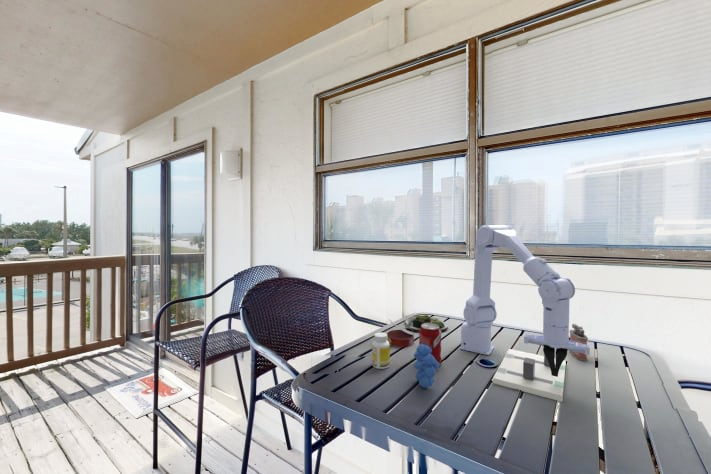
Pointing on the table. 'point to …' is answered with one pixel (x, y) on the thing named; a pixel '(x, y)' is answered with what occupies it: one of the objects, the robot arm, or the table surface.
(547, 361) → the on handle
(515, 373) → the switch plate
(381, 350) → the supplement bottle
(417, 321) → the salad plate
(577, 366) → the table surface
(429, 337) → the soda can
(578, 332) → the lighter
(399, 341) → the dark red bowl
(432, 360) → the grapes
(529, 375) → the handle
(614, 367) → the table surface
